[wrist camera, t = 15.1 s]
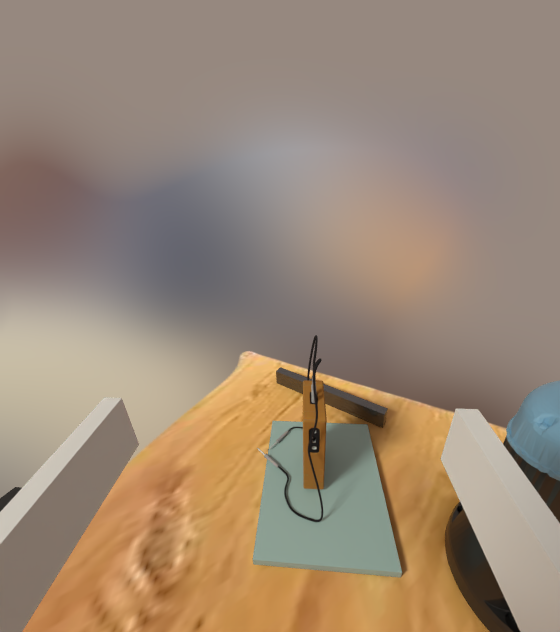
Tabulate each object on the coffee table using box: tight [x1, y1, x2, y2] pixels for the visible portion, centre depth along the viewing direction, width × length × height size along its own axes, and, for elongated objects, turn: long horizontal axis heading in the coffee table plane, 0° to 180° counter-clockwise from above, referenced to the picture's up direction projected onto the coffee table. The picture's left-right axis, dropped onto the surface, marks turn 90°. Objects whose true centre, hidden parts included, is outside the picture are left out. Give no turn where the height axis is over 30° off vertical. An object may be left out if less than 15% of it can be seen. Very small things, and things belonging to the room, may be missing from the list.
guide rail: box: [276, 368, 387, 428], centre depth 54 cm, size 22×2×3 cm, turn 55°
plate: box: [253, 421, 402, 577], centre depth 40 cm, size 16×20×1 cm
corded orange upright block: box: [257, 336, 326, 522], centre depth 37 cm, size 15×10×20 cm
